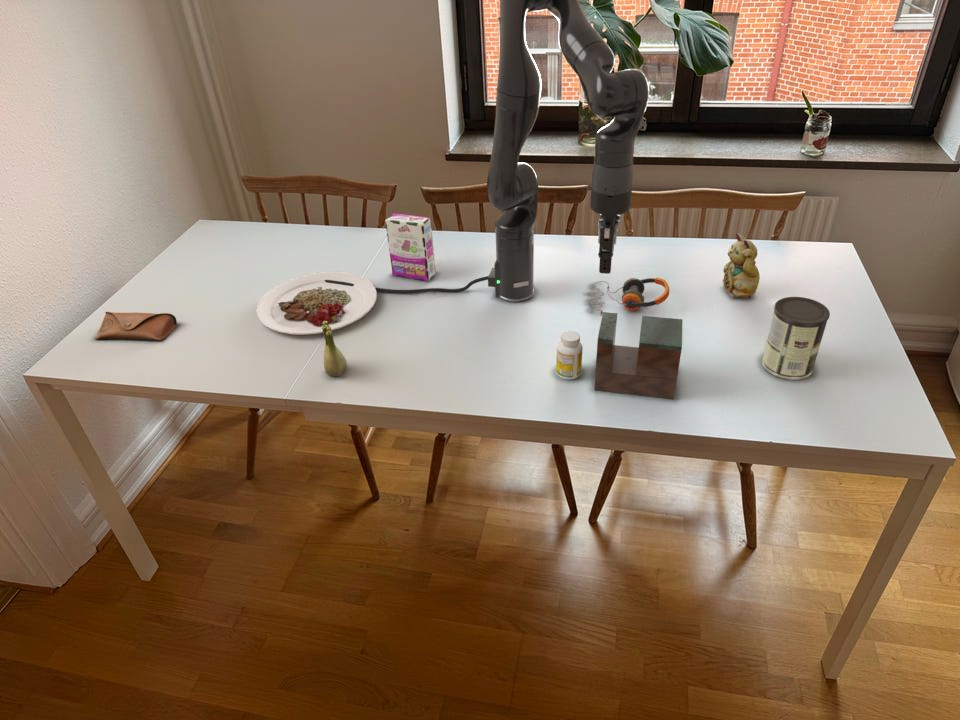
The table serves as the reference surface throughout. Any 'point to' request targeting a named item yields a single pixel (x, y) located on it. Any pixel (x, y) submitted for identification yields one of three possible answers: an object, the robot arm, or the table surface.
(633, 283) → the headphones
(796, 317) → the coffee can
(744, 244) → the decorative figurine
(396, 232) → the candy bar box
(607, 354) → the notched wooden block
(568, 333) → the supplement bottle
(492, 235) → the table surface
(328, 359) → the fennel bulb
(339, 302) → the plated food
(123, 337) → the sunglasses case
